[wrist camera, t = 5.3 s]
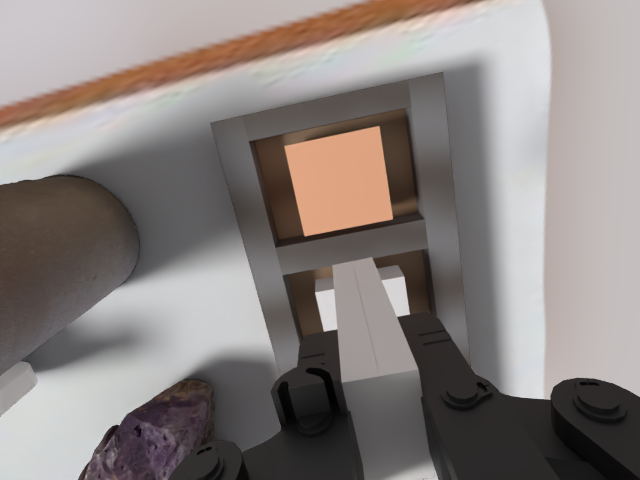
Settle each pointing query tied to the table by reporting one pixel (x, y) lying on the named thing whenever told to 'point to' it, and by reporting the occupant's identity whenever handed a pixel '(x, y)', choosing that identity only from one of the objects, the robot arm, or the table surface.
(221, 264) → the table surface
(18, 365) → the cable organizer
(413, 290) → the keypad
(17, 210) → the pillar candle
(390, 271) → the white key
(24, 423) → the table surface
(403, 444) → the robot arm
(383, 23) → the table surface
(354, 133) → the orange square block
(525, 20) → the table surface
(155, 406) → the rock
